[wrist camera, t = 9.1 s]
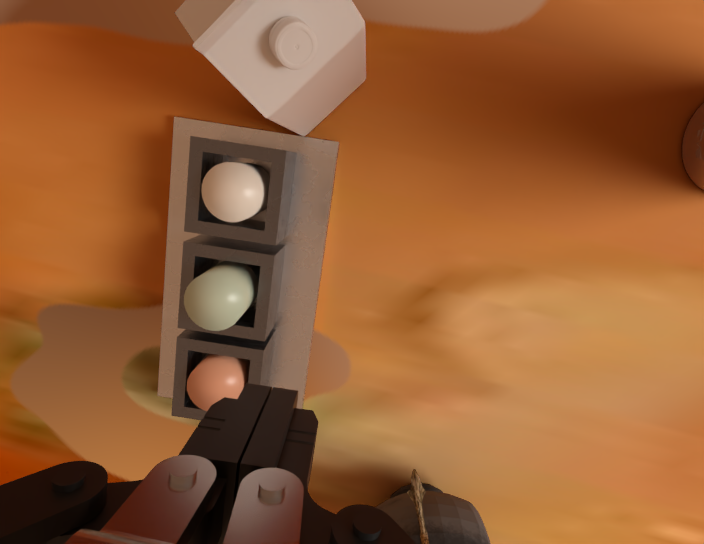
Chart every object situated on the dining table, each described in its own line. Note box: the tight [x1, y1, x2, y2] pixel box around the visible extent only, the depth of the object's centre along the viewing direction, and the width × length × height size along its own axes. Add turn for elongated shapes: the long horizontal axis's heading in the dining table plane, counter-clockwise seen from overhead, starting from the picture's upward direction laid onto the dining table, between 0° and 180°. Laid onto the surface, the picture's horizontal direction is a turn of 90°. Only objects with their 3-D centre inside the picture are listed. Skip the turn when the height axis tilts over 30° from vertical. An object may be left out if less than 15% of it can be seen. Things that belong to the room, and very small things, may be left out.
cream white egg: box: [201, 162, 270, 222], centre depth 36 cm, size 4×4×5 cm
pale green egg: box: [184, 261, 259, 331], centre depth 36 cm, size 4×4×5 cm
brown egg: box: [187, 353, 250, 411], centre depth 40 cm, size 4×4×5 cm
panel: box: [158, 117, 339, 420], centre depth 39 cm, size 14×26×6 cm, turn 172°
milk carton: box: [175, 0, 366, 136], centre depth 29 cm, size 7×7×19 cm
